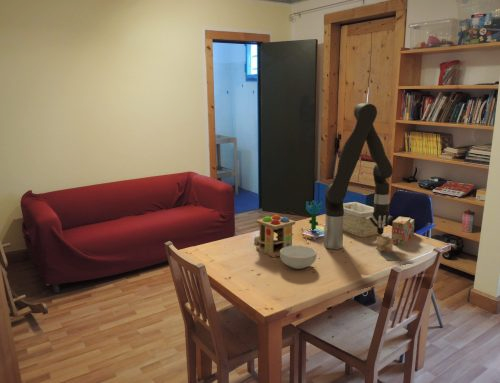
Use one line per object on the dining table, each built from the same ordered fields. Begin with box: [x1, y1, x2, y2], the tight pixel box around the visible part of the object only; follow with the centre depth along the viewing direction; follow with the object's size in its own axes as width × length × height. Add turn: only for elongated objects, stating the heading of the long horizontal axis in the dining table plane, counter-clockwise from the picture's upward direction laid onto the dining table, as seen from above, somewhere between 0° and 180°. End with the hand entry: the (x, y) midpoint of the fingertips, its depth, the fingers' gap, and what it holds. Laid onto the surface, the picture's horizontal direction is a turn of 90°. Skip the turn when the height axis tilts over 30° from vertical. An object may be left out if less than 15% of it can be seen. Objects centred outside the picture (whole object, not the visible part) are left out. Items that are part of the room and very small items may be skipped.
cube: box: [375, 235, 394, 252], centre depth 211 cm, size 6×6×6 cm
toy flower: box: [305, 199, 323, 230], centre depth 239 cm, size 9×9×18 cm
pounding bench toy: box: [253, 213, 296, 258], centre depth 214 cm, size 23×14×18 cm, turn 38°
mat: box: [375, 248, 403, 262], centre depth 206 cm, size 7×17×1 cm, turn 1°
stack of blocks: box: [390, 216, 415, 246], centre depth 227 cm, size 21×6×12 cm, turn 145°
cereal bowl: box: [279, 245, 317, 270], centre depth 192 cm, size 17×17×7 cm
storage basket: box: [343, 201, 379, 238], centre depth 241 cm, size 24×16×15 cm
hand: (380, 234), depth 218 cm, fingers closed
